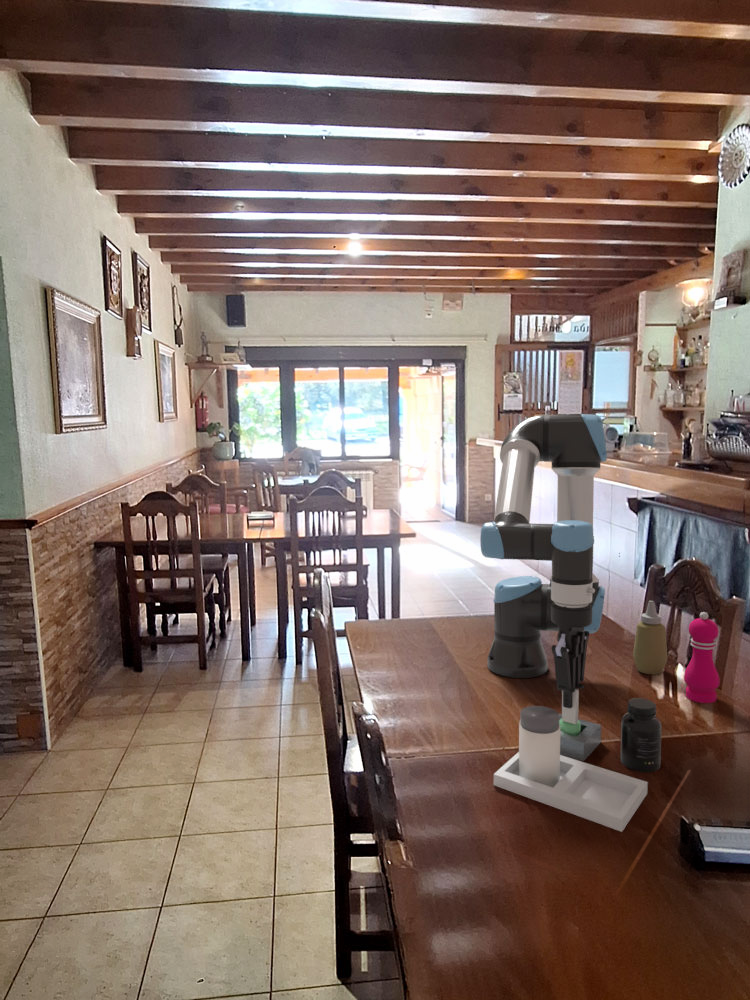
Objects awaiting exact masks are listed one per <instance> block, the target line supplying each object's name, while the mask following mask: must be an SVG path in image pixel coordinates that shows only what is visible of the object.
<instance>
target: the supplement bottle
mask: <svg viewBox="0 0 750 1000" xmlns="http://www.w3.org/2000/svg"><path fill="white" fill-rule="evenodd" d="M621 717H622V718H621V724H620V725H621V726H620V762H621V764H622V765H623V766H624V767H626V768H628V769H630V770H632V771H636V772H640V773H653V772H657V771H658V770H660V768H661V758H662V756H661V755H662V722H661V721H660V719H659V718H658V717H657V705H656V703H655V702H654V701H652V700H649V699H646V698H641V697H635V698H634V697H633V698H630V699H629V700H628V701H627V708H626V713H624V715H622V716H621Z"/></svg>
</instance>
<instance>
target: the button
mask: <svg viewBox="0 0 750 1000" xmlns="http://www.w3.org/2000/svg"><path fill="white" fill-rule="evenodd" d="M559 724H560V731H562V732H566V733H569V734H573V735H576V736H578V735H579V734H580V733H581V722H580V721H579V720H578V722H577V723H576V724H571V723H568V722H564V721H562V719H560V720H559Z"/></svg>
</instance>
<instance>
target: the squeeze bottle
mask: <svg viewBox="0 0 750 1000" xmlns="http://www.w3.org/2000/svg"><path fill="white" fill-rule="evenodd" d="M666 632H667V631H666V626H665V625H664V624H663V623H662V616H661V615H660V614H658V613H657V609H656V604H655V601H654V600H649V601H648V604H647V608H646V611H645V613H644V612H643V613H641V615H640V621H639V622H638V623H637V624H636V630H635V636H634V644H633V651H632V658H633V660H634V663H635V666H636V669H637V671H638V672H640V673H643V674H646V675H661V674H662V673H663V671H664V669H665V666H666V663H667V662H668V659H669V657H668V648H667V647H668V646H667V635H666Z"/></svg>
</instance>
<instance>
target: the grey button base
mask: <svg viewBox="0 0 750 1000" xmlns="http://www.w3.org/2000/svg"><path fill="white" fill-rule="evenodd" d="M560 719H562V713H559V720H560ZM578 720H579V721H580V722H581V733H580V734H579V735H578V736H576V735H573V734H569V733H566V732H562V731H560V755H562V756H565V757H568V758H572V759H575V760H578V761H581V762H585V760H586V759H587V758H588V757H589V756H590V755H591V754H592V752H594V751H595V750H596V748H597V747H598V746H599V745H600V744H601V743H602V724H599V723H595V722H591V721H589V720H584V719H581V718H578Z"/></svg>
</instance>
